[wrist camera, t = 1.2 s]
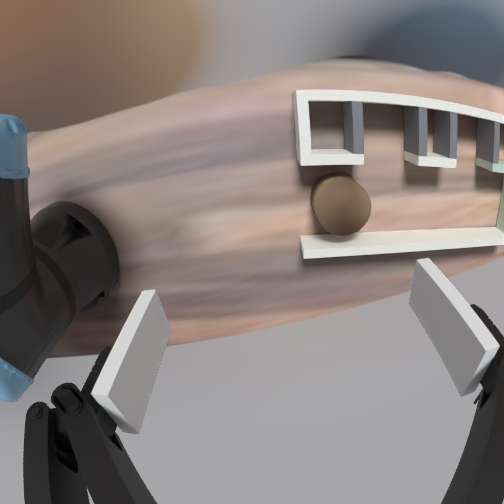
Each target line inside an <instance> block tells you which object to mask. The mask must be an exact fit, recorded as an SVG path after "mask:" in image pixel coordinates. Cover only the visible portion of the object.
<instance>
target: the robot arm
mask: <svg viewBox="0 0 504 504" xmlns="http://www.w3.org/2000/svg"><path fill="white" fill-rule="evenodd" d="M29 175H30V168H29V167H28V159H27V131H26V127H25V125H24V123H23V122H22V121H21V120H20V119H19V118H17V117H15V116H12V115H3V114H0V400H2V401H6V402H14V401H17V400H18V399H19V398H20V397H21V396H22V395H23V393H24V392H25V391H26V389H27V388H28V387H29V386H30V384H32V383H33V382H34V380H33V379H34V377H35V375H36V374H37V372H38V371H39V369H40V367H41V366H42V364H43V363H44V361H45V360H46V358H47V357H48V355H49V354H50V352H51V351H52V349H53V348H54V346H55V345H56V343H57V342H58V340H59V339H60V337H61V336H62V335H63V333H64V332H65V330H66V329H67V327H68V326H69V325H70V323H71V322H72V320H73V319H74V318H75V317H77V316H79V315H81V314H82V313H84V312H86V311H88V310H89V309H91V308H93V307H95V306H96V305H98V304H100V303H101V302H102V301H103V300H104V299H105V298H106V297H107V296H108V294H109V293H110V292H111V290H112V289H113V287H114V286H115V283H116V281H117V277H118V268H119V266H118V257H117V253H116V249H115V246H114V244H113V242H112V239H111V237H110V235H109V234H108V232H107V230H106V229H105V228H104V226H103V225H102V224H101V222H100V221H99V220H98V219H97V218H96V217H95V216H94V215H93V214H92V213H90V212H89V211H88V210H86V209H85V208H83V207H81V206H79V205H77V204H74V203H70V202H56V203H53V204H50V205H49V206H47V207H45V208H44V209H42V210H40V211H39V212H38V213H37V214H36V215H35V216H34V217H33V218H32V219H31V221H30V213H29V198H28V177H29ZM409 304H410V306H411V308H412V309H413V311H414V312H415V314H416V316H417V317H418V319H419V321H420V322H421V324H422V326H423V327H424V329H425V331H426V332H427V334H428V336H429V338H430V339H431V341H432V343H433V344H434V346H435V348H436V350H437V352H438V353H439V355H440V357H441V359H442V361H443V363H444V364H445V366H446V368H447V370H448V372H449V374H450V376H451V378H452V380H453V382H454V384H455V386H456V388H457V390H458V392H459V394H460V396H461V397H462V396H464V395H467V394H469V393H472V392H474V391H475V390H476V388H477V387H478V385H479V383H481V385H482V387H483V389H482V390H481V392H480V393H479V395H478V397H477V398H476V400H475V402H474V404H476V403H477V401H478V400H479V401H478V405H477V409H476V413H475V416H474V420H473V423H472V427H471V430H470V433H469V436H468V440H467V442H466V446H465V448H464V451H463V454H462V457H461V459H460V462H459V465H458V467H457V469H456V472H455V474H454V477H453V479H452V481H451V484H450V486H449V488H448V490H447V492H446V495H445V497H444V499H443V501H442V503H441V504H502V502H503V499H504V337H503V335H502V334H501V333H500V331H499V330H498V329H497V328H496V326H495V325H493V322H492V321H491V320H490V319H489V318H488V316H487V315H486V313H485V312H484V311H483V310H482V309H481V308H479V307H478V306H476V305H475V304H473V305H469V304H468V303H467V302H466V301H465V299H464V298H463V297H462V296H461V294H460V293H459V292H458V291H457V289H456V288H455V287H454V286H453V285H452V284H451V282H450V281H449V280H448V279H447V278H446V277H445V276H444V274H443V273H442V272H441V271H440V270H439V269H438V268H437V267H436V266H435V264H434V263H433V262H432V261H431V260H430V259H429V258H425V259H418V260H416V265H415V272H414V278H413V284H412V290H411V295H410V301H409ZM170 333H171V328H170V326H169V323H168V321H167V318H166V315H165V313H164V310H163V308H162V305H161V302H160V299H159V297H158V294H157V291H156V290H145V291H142V293H141V295H140V296H139V298H138V300H137V302H136V304H135V306H134V307H133V309H132V311H131V313H130V315H129V317H128V319H127V321H126V323H125V324H124V326H123V328H122V330H121V332H120V334H119V336H118V338H117V340H116V342H115V344H114V346H113V347H106V348H105V349H104V350H103V351H102V352H101V353H100V354H99V356H98V358H97V360H96V362H95V365H94V366H93V368H92V372H90V374H89V376H88V378H87V380H86V382H85V385H84V386H83V388H82V391H81V392H80V390H79V389H78V388H77V387H76V385H74V384H73V383H64V384H61V385H60V386H58V387H57V388H56V389H55V390H54V391H53V393H52V396H51V402H52V403H53V404H54V406H55V407H56V408H53V409H50V408H49V407H48V406H47V404H46V403H44V402H36V403H34V404H33V405H32V406H30V408H29V409H28V411H27V414H26V422H25V434H24V458H23V461H24V462H23V474H24V475H23V477H24V499H25V504H90V503H89V498H88V493H87V488H88V491H89V493H90V495H91V497H92V500H93V502H94V504H157V503H156V501H155V500H154V498H153V496H152V495H151V493H150V492H149V490H148V489H147V487H146V485H145V484H144V482H143V480H142V479H141V477H140V475H139V474H138V472H137V470H136V468H135V467H134V465H133V463H132V462H131V460H130V458H129V456H128V454H127V452H126V450H125V448H124V446H123V444H122V442H121V440H120V438H119V436H118V435H117V434H116V432H115V430H116V427H117V425H118V427H119V428H120V429H121V430H122V431H123V432H126V433H133V434H139V433H140V429H141V426H142V422H143V419H144V415H145V412H146V409H147V405H148V402H149V399H150V395H151V392H152V389H153V386H154V383H155V379H156V376H157V373H158V370H159V367H160V364H161V361H162V358H163V354H164V351H165V348H166V345H167V342H168V339H169V336H170ZM86 486H87V487H86Z"/></svg>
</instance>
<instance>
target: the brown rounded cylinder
mask: <svg viewBox="0 0 504 504" xmlns="http://www.w3.org/2000/svg"><path fill="white" fill-rule="evenodd" d="M310 199H311V205H312V207H313V210H314V212H315V214H316V216H317V218H318V221H319V223H320V224H321V226H322V227H323V228H324V229H325V230H326V231H328V232H329V233H331V234H334V235H339V236H345V235H350V234H353V233H355V232H357V231H358V230H360V229H361V228H362V227H363V226H364V225H365V224H366V222H367V221H368V219H369V216H370V213H371V201H370V198H369V195H368V194H367V192H366V191H365V189H364V188H362V187H361V186H360V185H359V184H358V183H357V182H355V181H354V180H353V179H352V178H351V177H349V176H348V175H346V174H343V173H337V172H335V173H329V174H326V175H324V176H322V177H321V178H320V179H319V180H317V182H316V183H315V184H314V186H313V188H312V191H311V197H310Z"/></svg>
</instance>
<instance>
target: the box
mask: <svg viewBox="0 0 504 504" xmlns="http://www.w3.org/2000/svg"><path fill="white" fill-rule="evenodd" d="M292 94H293V106H294V119H295V134H296V150H297V160H298V162H299V163H300V165H301V166H308V165H355V164H364V131H363V106H362V103H376V104H389V105H400V106H404V160H406V161H409V162H411V163H413V164H415V165H418V166H432V167H447V168H456V159H457V125H458V123H457V114H461V115H466V116H471V117H476V118H477V150H476V165H477V166H480V167H482V168H485V169H487V170H489V171H492V172H499V173H504V161H500V160H499V143H500V123H501V124H504V115H502V114H498V113H495V112H491V111H487V110H483V109H479V108H475V107H471V106H467V105H462V104H457V103H452V102H447V101H442V100H436V99H430V98H424V97H417V96H409V95H401V94H392V93H382V92H369V91H352V90H295V91H294V92H293V93H292ZM308 102H342V105H343V125H344V149H315V150H311V136H310V119H309V105H308ZM427 109H432V110H434V150H433V152H427ZM300 245H301V250H302V254H303V258H304V259H308V258H324V257H339V256H355V255H370V254H385V253H399V252H413V251H427V250H441V249H454V248H468V247H480V246H493V245H504V177H503V186H502V193H501V200H500V206H499V212H498V218H497V223H496V227H481V228H453V229H428V230H404V231H383V232H362V233H353V234H350V235H345V236H339V235H334V234H324V235H306V236H300Z"/></svg>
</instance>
